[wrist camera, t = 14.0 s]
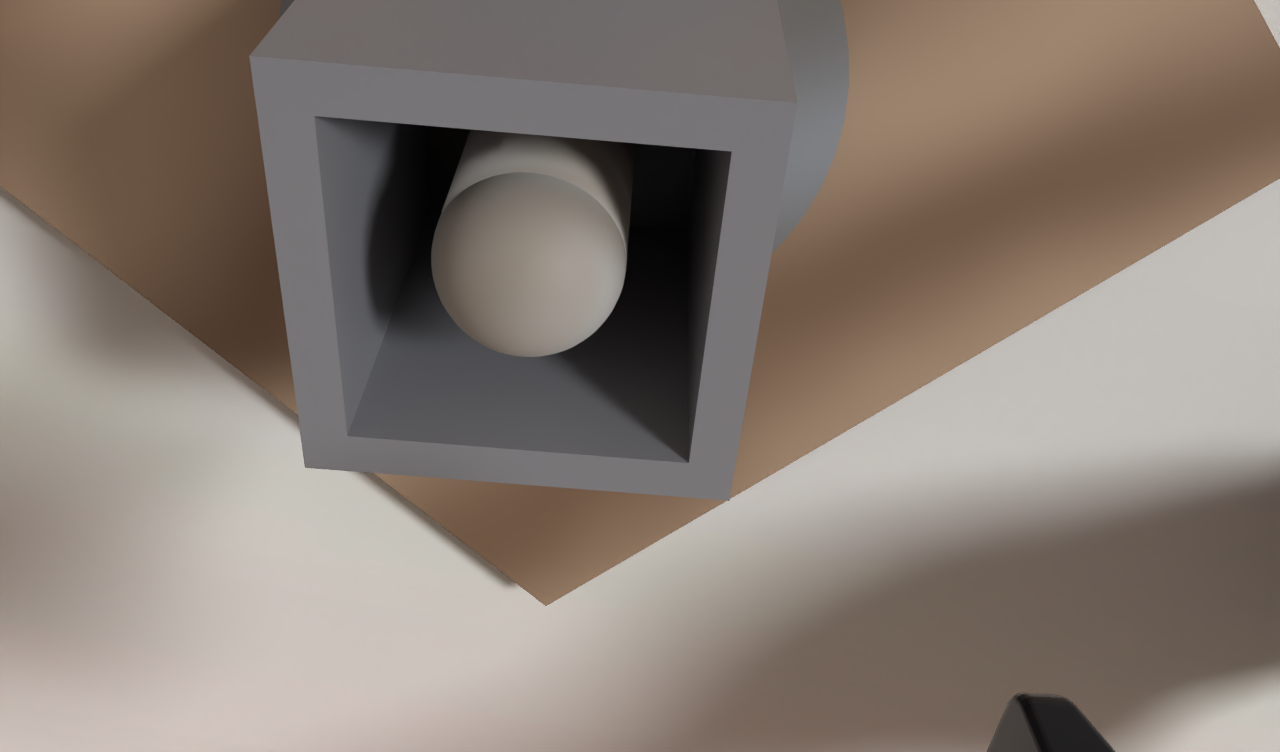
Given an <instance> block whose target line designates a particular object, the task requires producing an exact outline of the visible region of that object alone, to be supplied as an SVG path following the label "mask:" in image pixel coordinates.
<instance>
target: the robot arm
mask: <svg viewBox="0 0 1280 752" xmlns="http://www.w3.org/2000/svg"><path fill="white" fill-rule="evenodd" d="M987 752H1115V751H1114V750H1113V748H1112V747H1111V746H1110V745H1109V744H1108V743H1107V741H1106V740H1105V739H1104V738H1103V737H1102V735H1101V734H1100V733H1099V732H1098V731H1097V730H1096V728H1095V727H1094V726H1093V725H1092V724H1091V722H1090V721H1089V720H1088V719H1087V718H1086V717H1085V715H1084V714H1083V713H1082V712H1081V711H1080V709H1079V708H1078V707H1077V706H1076V705H1075V704H1074V703H1073V702H1071V701H1070V700H1069V699H1067V698H1065V697H1063V696H1059V695H1048V694H1035V693H1018V694H1016V695H1015V696H1013V697H1012V698H1011V699H1010V701H1009V703H1008V705H1007V707H1006V709H1005V711H1004V714H1003V716H1002V718H1001V720H1000V723H999V725H998V727H997V729H996V732H995V734H994V736H993V739H992V741H991V743H990V745H989V748H988V750H987Z"/></svg>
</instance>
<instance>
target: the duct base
mask: <svg viewBox="0 0 1280 752" xmlns="http://www.w3.org/2000/svg"><path fill="white" fill-rule="evenodd" d="M293 2H294V0H0V186H1V187H2V188H3V189H4V190H6V191H7V192H8V193H10V194H11V195H12V196H14V197H15V198H16V199H17V200H19V201H20V202H21V203H23V204H24V205H25V206H27V207H28V208H29V209H30V210H32V211H33V212H34V213H36V214H37V215H38V216H40V217H41V218H42V219H43V220H45V221H46V222H47V223H49V224H50V225H51V226H53V227H54V228H55V229H56V230H58V231H59V232H60V233H62V234H63V235H64V236H66V237H67V238H68V239H69V240H71V241H72V242H73V243H75V244H76V245H77V246H79V247H80V248H81V249H82V250H84V251H85V252H86V253H88V254H89V255H90V256H92V257H93V258H94V259H95V260H97V261H98V262H99V263H101V264H102V265H103V266H105V267H106V268H107V269H108V270H110V271H111V272H112V273H114V274H115V275H116V276H118V277H119V278H120V279H121V280H123V281H124V282H125V283H127V284H128V285H129V286H131V287H132V288H133V289H134V290H136V291H137V292H138V293H140V294H141V295H142V296H144V297H145V298H146V299H147V300H149V301H150V302H151V303H153V304H154V305H155V306H157V307H158V308H159V309H160V310H162V311H163V312H164V313H166V314H167V315H168V316H170V317H171V318H172V319H173V320H175V321H176V322H177V323H179V324H180V325H181V326H183V327H184V328H185V329H186V330H188V331H189V332H190V333H192V334H193V335H194V336H196V337H197V338H198V339H199V340H201V341H202V342H203V343H205V344H206V345H207V346H209V347H210V348H211V349H212V350H214V351H215V352H216V353H218V354H219V355H220V356H222V357H223V358H224V359H225V360H227V361H228V362H229V363H231V364H232V365H233V366H235V367H236V368H237V369H238V370H240V371H241V372H242V373H244V374H245V375H246V376H248V377H249V378H250V379H251V380H253V381H254V382H255V383H257V384H258V385H259V386H261V387H262V388H263V389H264V390H266V391H267V392H268V393H270V394H271V395H272V396H274V397H275V398H276V399H277V400H279V401H280V402H281V403H283V404H284V405H285V406H287V407H288V408H289V409H290V410H292V411H293V412H294V413H296V414H297V415H298V412H297V405H296V397H295V390H294V383H293V375H292V368H291V360H290V353H289V346H288V338H287V331H286V323H285V316H284V309H283V301H282V294H281V287H280V279H279V272H278V264H277V257H276V250H275V242H274V235H273V227H272V220H271V213H270V205H269V198H268V191H267V183H266V176H265V168H264V161H263V154H262V146H261V139H260V131H259V124H258V117H257V109H256V102H255V94H254V87H253V80H252V72H251V65H250V58H249V56H250V54H251V53H252V52H253V51H254V49H255V48H256V47H257V46H258V45H259V43H260V42H261V41H262V40H263V38H264V37H265V36H266V35H267V34H268V32H269V31H270V30H271V29H272V27H273V26H274V25H275V24H276V22H277V21H278V20H279V19H280V18H281V16H282V15H283V14H284V13H285V11H286V10H287V9H288V8H289V7H290V5H291V4H292V3H293ZM777 2H778V7H779V12H780V17H781V22H782V27H783V32H784V37H785V42H786V48H787V53H788V58H789V63H790V68H791V73H792V78H793V83H794V88H795V93H796V98H797V109H796V114H795V120H794V126H793V132H792V138H791V144H790V149H789V155H788V161H787V167H786V173H785V179H784V184H783V190H782V196H781V202H780V208H779V214H778V219H777V225H776V231H775V237H774V243H773V249H772V254H771V260H770V266H769V272H768V278H767V284H766V290H765V295H764V301H763V307H762V313H761V319H760V325H759V330H758V336H757V342H756V348H755V354H754V360H753V365H752V371H751V377H750V383H749V389H748V395H747V400H746V406H745V412H744V418H743V424H742V430H741V435H740V441H739V447H738V453H737V459H736V465H735V470H734V476H733V482H732V488H731V494H730V498H732V497H734V496H736V495H737V494H739V493H741V492H742V491H744V490H746V489H748V488H749V487H751V486H753V485H754V484H756V483H758V482H760V481H761V480H763V479H765V478H766V477H768V476H770V475H772V474H773V473H775V472H777V471H778V470H780V469H782V468H784V467H785V466H787V465H789V464H790V463H792V462H794V461H796V460H797V459H799V458H801V457H802V456H804V455H806V454H808V453H809V452H811V451H813V450H814V449H816V448H818V447H820V446H821V445H823V444H825V443H827V442H828V441H830V440H832V439H833V438H835V437H837V436H839V435H840V434H842V433H844V432H845V431H847V430H849V429H851V428H852V427H854V426H856V425H857V424H859V423H861V422H863V421H864V420H866V419H868V418H869V417H871V416H873V415H875V414H876V413H878V412H880V411H881V410H883V409H885V408H887V407H888V406H890V405H892V404H893V403H895V402H897V401H899V400H900V399H902V398H904V397H905V396H907V395H909V394H911V393H912V392H914V391H916V390H917V389H919V388H921V387H923V386H924V385H926V384H928V383H929V382H931V381H933V380H935V379H936V378H938V377H940V376H941V375H943V374H945V373H947V372H948V371H950V370H952V369H953V368H955V367H957V366H959V365H960V364H962V363H964V362H966V361H967V360H969V359H971V358H972V357H974V356H976V355H978V354H979V353H981V352H983V351H984V350H986V349H988V348H990V347H991V346H993V345H995V344H996V343H998V342H1000V341H1002V340H1003V339H1005V338H1007V337H1008V336H1010V335H1012V334H1014V333H1015V332H1017V331H1019V330H1020V329H1022V328H1024V327H1026V326H1027V325H1029V324H1031V323H1032V322H1034V321H1036V320H1038V319H1039V318H1041V317H1043V316H1044V315H1046V314H1048V313H1050V312H1051V311H1053V310H1055V309H1056V308H1058V307H1060V306H1062V305H1063V304H1065V303H1067V302H1068V301H1070V300H1072V299H1074V298H1075V297H1077V296H1079V295H1080V294H1082V293H1084V292H1086V291H1087V290H1089V289H1091V288H1092V287H1094V286H1096V285H1098V284H1099V283H1101V282H1103V281H1105V280H1106V279H1108V278H1110V277H1111V276H1113V275H1115V274H1117V273H1118V272H1120V271H1122V270H1123V269H1125V268H1127V267H1129V266H1130V265H1132V264H1134V263H1135V262H1137V261H1139V260H1141V259H1142V258H1144V257H1146V256H1147V255H1149V254H1151V253H1153V252H1154V251H1156V250H1158V249H1159V248H1161V247H1163V246H1165V245H1166V244H1168V243H1170V242H1171V241H1173V240H1175V239H1177V238H1178V237H1180V236H1182V235H1183V234H1185V233H1187V232H1189V231H1190V230H1192V229H1194V228H1195V227H1197V226H1199V225H1201V224H1202V223H1204V222H1206V221H1207V220H1209V219H1211V218H1213V217H1214V216H1216V215H1218V214H1219V213H1221V212H1223V211H1225V210H1226V209H1228V208H1230V207H1231V206H1233V205H1235V204H1237V203H1238V202H1240V201H1242V200H1244V199H1245V198H1247V197H1249V196H1250V195H1252V194H1254V193H1256V192H1257V191H1259V190H1261V189H1262V188H1264V187H1266V186H1268V185H1269V184H1271V183H1273V182H1274V181H1276V180H1278V179H1280V48H1279V46H1278V44H1277V42H1276V41H1275V39H1274V37H1273V35H1272V33H1271V31H1270V29H1269V27H1268V26H1267V24H1266V22H1265V20H1264V18H1263V16H1262V14H1261V13H1260V11H1259V9H1258V7H1257V5H1256V3H1255V1H1254V0H777ZM427 130H428V156H429V182H430V207H431V210H440V211H442V212H441V215H440V218H439V221H438V224H437V227H436V229H435V233H434V238H433V243H432V250H431V266H432V275H433V279H434V283H435V287H436V290H437V293H438V296H439V298H440V300H441V303H442V304H443V306H444V308H445V309H446V311H447V312H448V314H449V316H450V317H451V318H452V319H453V321H454V322H455V323H456V324H457V325H458V326H459V327H460V328H461V329H462V330H463V331H464V332H465V333H466V334H467V335H469V336H470V337H471V338H472V339H474V340H475V341H477V342H479V343H480V344H482V345H484V346H486V347H488V348H490V349H492V350H495V351H497V352H500V353H504V354H508V355H512V356H519V357H539V356H546V355H551V354H556V353H559V352H562V351H565V350H567V349H569V348H572V347H574V346H576V345H577V344H579V343H581V342H582V341H584V340H585V339H587V338H588V337H589V336H591V335H592V334H593V333H594V332H595V331H596V330H597V329H598V328H599V327H600V326H601V325H602V324H603V323H604V322H605V320H606V319H607V318H608V316H609V315H610V314H611V312H612V311H613V309H614V307H615V305H616V303H617V301H618V298H619V296H620V294H621V291H622V287H623V284H624V279H625V273H626V265H627V251H628V238H629V226H632V227H644V228H656V229H668V230H680V231H688V222H689V214H690V205H691V196H692V188H693V179H694V171H695V162H696V154H697V149H696V148H685V147H673V146H661V145H649V144H637V143H626V142H614V141H602V140H590V139H578V138H567V137H555V136H543V135H531V134H519V133H508V132H496V131H484V130H472V129H461V128H449V127H437V126H427ZM374 474H375V475H376V476H378V477H379V478H380V479H381V480H383V481H384V482H385V483H387V484H388V485H389V486H391V487H392V488H393V489H394V490H396V491H397V492H398V493H400V494H401V495H402V496H404V497H405V498H406V499H407V500H409V501H410V502H411V503H413V504H414V505H415V506H417V507H418V508H419V509H420V510H422V511H423V512H424V513H426V514H427V515H428V516H430V517H431V518H432V519H433V520H435V521H436V522H437V523H439V524H440V525H441V526H443V527H444V528H445V529H446V530H448V531H449V532H450V533H452V534H453V535H454V536H456V537H457V538H458V539H459V540H461V541H462V542H463V543H465V544H466V545H467V546H469V547H470V548H471V549H472V550H474V551H475V552H476V553H478V554H479V555H480V556H482V557H483V558H484V559H485V560H487V561H488V562H489V563H491V564H492V565H493V566H495V567H496V568H497V569H498V570H500V571H501V572H502V573H504V574H505V575H506V576H508V577H509V578H510V579H511V580H513V581H514V582H515V583H517V584H518V585H519V586H521V587H522V588H523V589H524V590H526V591H527V592H528V593H530V594H531V595H532V596H534V597H535V598H536V599H537V600H539V601H540V602H541V603H543V604H544V605H545V606H547V605H549V604H550V603H552V602H554V601H555V600H557V599H559V598H561V597H562V596H564V595H566V594H567V593H569V592H571V591H573V590H574V589H576V588H578V587H579V586H581V585H583V584H585V583H586V582H588V581H590V580H591V579H593V578H595V577H597V576H598V575H600V574H602V573H603V572H605V571H607V570H609V569H610V568H612V567H614V566H615V565H617V564H619V563H621V562H622V561H624V560H626V559H627V558H629V557H631V556H633V555H634V554H636V553H638V552H639V551H641V550H643V549H645V548H646V547H648V546H650V545H651V544H653V543H655V542H657V541H658V540H660V539H662V538H663V537H665V536H667V535H669V534H670V533H672V532H674V531H675V530H677V529H679V528H681V527H682V526H684V525H686V524H688V523H689V522H691V521H693V520H694V519H696V518H698V517H700V516H701V515H703V514H705V513H706V512H708V511H710V510H712V509H713V508H715V507H717V506H718V505H720V504H722V503H724V502H725V501H727V500H715V499H702V498H689V497H676V496H664V495H651V494H638V493H625V492H612V491H599V490H587V489H574V488H561V487H548V486H535V485H522V484H510V483H497V482H484V481H471V480H458V479H445V478H432V477H420V476H407V475H394V474H381V473H374Z"/></svg>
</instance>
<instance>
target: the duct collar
mask: <svg viewBox="0 0 1280 752" xmlns="http://www.w3.org/2000/svg"><path fill="white" fill-rule="evenodd" d="M249 58H250V65H251V72H252V80H253V87H254V94H255V102H256V109H257V117H258V124H259V131H260V139H261V146H262V154H263V161H264V168H265V176H266V183H267V191H268V198H269V205H270V213H271V220H272V227H273V235H274V242H275V250H276V257H277V264H278V272H279V279H280V287H281V294H282V301H283V309H284V316H285V323H286V331H287V338H288V346H289V353H290V360H291V368H292V375H293V383H294V390H295V397H296V405H297V412H298V419H299V427H300V434H301V442H302V449H303V456H304V464H305V468H317V469H330V470H343V471H355V472H368V473H381V474H394V475H407V476H420V477H432V478H445V479H458V480H471V481H484V482H497V483H510V484H522V485H535V486H548V487H561V488H574V489H587V490H599V491H612V492H625V493H638V494H651V495H664V496H676V497H689V498H702V499H715V500H728V501H729V500H730V494H731V488H732V482H733V476H734V470H735V465H736V459H737V453H738V447H739V441H740V435H741V430H742V424H743V418H744V412H745V406H746V400H747V395H748V389H749V383H750V377H751V371H752V365H753V360H754V354H755V348H756V342H757V336H758V330H759V325H760V319H761V313H762V307H763V301H764V295H765V290H766V284H767V278H768V272H769V266H770V260H771V254H772V249H773V243H774V237H775V231H776V225H777V219H778V214H779V208H780V202H781V196H782V190H783V184H784V179H785V173H786V167H787V161H788V155H789V149H790V144H791V138H792V132H793V126H794V120H795V114H796V109H797V98H796V93H795V88H794V83H793V78H792V73H791V68H790V63H789V58H788V53H787V48H786V42H785V37H784V32H783V27H782V22H781V17H780V12H779V7H778V2H777V0H294V2H293V3H292V4H291V5H290V7H289V8H288V9H287V10H286V11H285V13H284V14H283V15H282V16H281V18H280V19H279V20H278V21H277V22H276V24H275V25H274V26H273V27H272V29H271V30H270V31H269V32H268V34H267V35H266V36H265V37H264V38H263V40H262V41H261V42H260V43H259V45H258V46H257V47H256V48H255V49H254V51H253V52H252V53H251V54H250V56H249ZM427 126H437V127H449V128H461V129H472V130H484V131H496V132H508V133H519V134H531V135H543V136H555V137H567V138H578V139H590V140H602V141H614V142H626V143H637V144H649V145H661V146H673V147H685V148H696V149H697V154H696V162H695V171H694V179H693V188H692V196H691V205H690V214H689V222H688V231H680V230H668V229H656V228H644V227H632V226H629V238H628V251H627V265H626V273H625V279H624V284H623V287H622V291H621V294H620V296H619V298H618V301H617V303H616V305H615V307H614V309H613V311H612V312H611V314H610V315H609V316H608V318H607V319H606V320H605V322H604V323H603V324H602V325H601V326H600V327H599V328H598V329H597V330H596V331H595V332H594V333H593V334H592V335H591V336H589V337H588V338H587V339H585V340H584V341H582V342H581V343H579V344H577V345H576V346H574V347H572V348H569V349H567V350H565V351H562V352H559V353H556V354H551V355H546V356H539V357H519V356H512V355H508V354H504V353H500V352H497V351H495V350H492V349H490V348H488V347H486V346H484V345H482V344H480V343H479V342H477V341H475V340H474V339H472V338H471V337H470V336H469V335H467V334H466V333H465V332H464V331H463V330H462V329H461V328H460V327H459V326H458V325H457V324H456V323H455V322H454V321H453V319H452V318H451V317H450V316H449V314H448V312H447V311H446V309H445V308H444V306H443V304H442V303H441V300H440V298H439V296H438V293H437V290H436V287H435V283H434V279H433V275H432V266H431V250H432V243H433V238H434V233H435V229H436V227H437V224H438V221H439V218H440V215H441V212H442V211H440V210H431V207H430V182H429V156H428V130H427Z"/></svg>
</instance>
